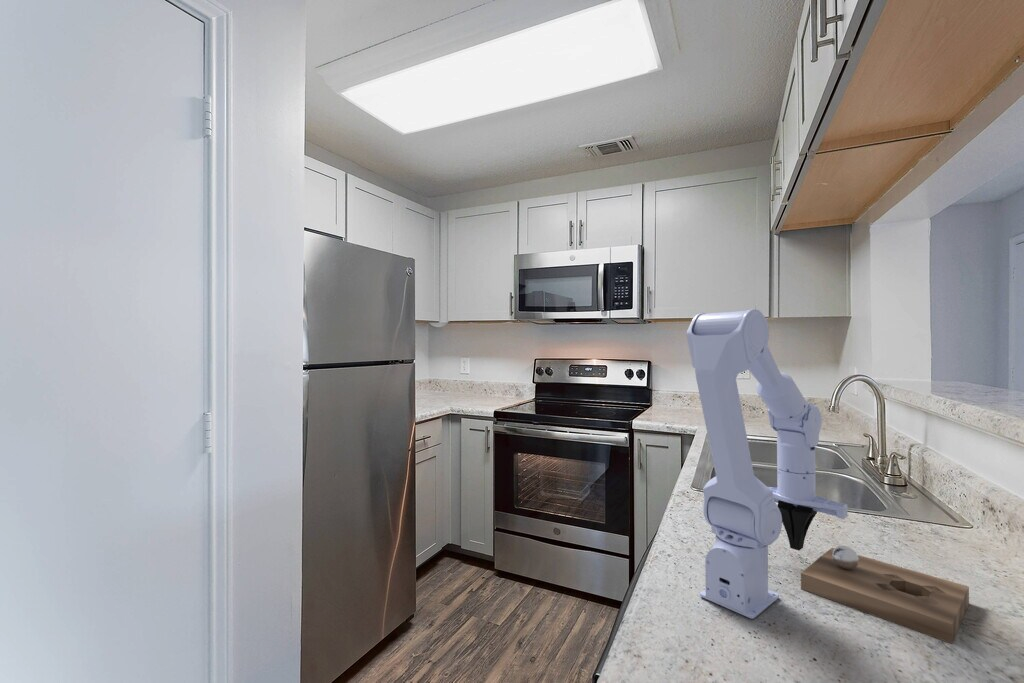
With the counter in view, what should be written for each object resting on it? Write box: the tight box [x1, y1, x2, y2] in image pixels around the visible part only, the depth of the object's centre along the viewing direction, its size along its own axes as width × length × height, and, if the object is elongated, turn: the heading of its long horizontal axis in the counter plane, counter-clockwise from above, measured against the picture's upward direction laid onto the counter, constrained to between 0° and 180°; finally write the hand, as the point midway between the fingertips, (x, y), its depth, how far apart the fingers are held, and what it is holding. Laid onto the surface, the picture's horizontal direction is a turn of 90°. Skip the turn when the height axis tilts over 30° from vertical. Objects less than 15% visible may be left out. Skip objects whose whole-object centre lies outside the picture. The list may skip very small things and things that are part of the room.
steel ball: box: [832, 545, 859, 569], centre depth 74 cm, size 4×4×4 cm
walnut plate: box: [800, 547, 970, 645], centre depth 71 cm, size 15×18×2 cm
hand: (796, 547), depth 80 cm, fingers closed
